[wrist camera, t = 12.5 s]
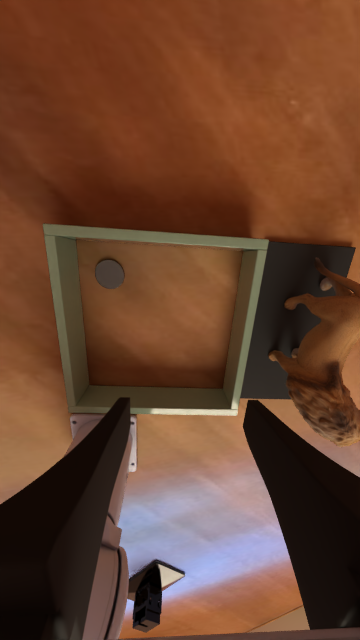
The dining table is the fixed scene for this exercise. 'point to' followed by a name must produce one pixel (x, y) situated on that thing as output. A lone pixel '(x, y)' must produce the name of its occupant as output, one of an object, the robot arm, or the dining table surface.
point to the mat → (286, 310)
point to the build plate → (150, 593)
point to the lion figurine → (326, 360)
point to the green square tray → (112, 276)
